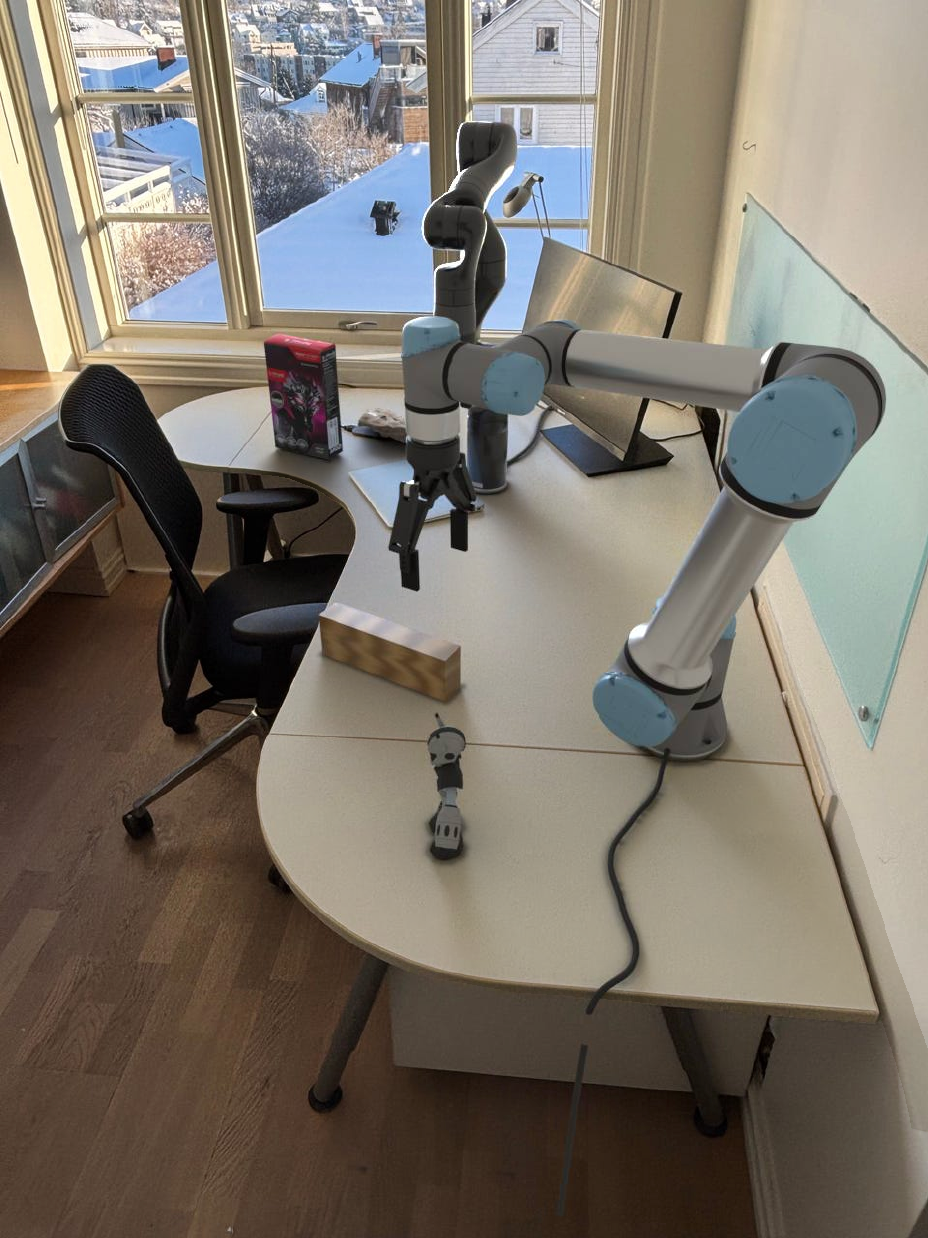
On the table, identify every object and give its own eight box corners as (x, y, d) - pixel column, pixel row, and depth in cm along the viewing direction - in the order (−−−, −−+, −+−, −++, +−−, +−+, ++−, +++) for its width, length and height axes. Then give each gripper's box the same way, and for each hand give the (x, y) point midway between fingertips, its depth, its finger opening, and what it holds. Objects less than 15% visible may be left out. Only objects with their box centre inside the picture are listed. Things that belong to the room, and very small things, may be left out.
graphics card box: (273, 448, 231) (260, 339, 216) (289, 438, 236) (278, 332, 221) (329, 461, 225) (320, 351, 210) (345, 451, 230) (337, 342, 215)
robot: (468, 894, 116) (470, 778, 105) (429, 895, 116) (427, 779, 105) (461, 784, 133) (462, 674, 121) (427, 785, 132) (425, 675, 121)
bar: (460, 686, 152) (460, 646, 147) (445, 702, 149) (445, 661, 144) (339, 640, 162) (335, 601, 158) (322, 654, 159) (318, 614, 155)
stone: (342, 431, 232) (346, 408, 230) (364, 423, 246) (368, 401, 243) (419, 455, 229) (424, 432, 226) (437, 445, 242) (442, 423, 240)
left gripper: (456, 314, 169) (456, 399, 178) (414, 334, 159) (416, 423, 168) (492, 320, 166) (490, 406, 175) (452, 341, 156) (452, 431, 165)
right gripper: (456, 402, 138) (457, 528, 149) (356, 460, 120) (366, 599, 131) (500, 411, 134) (498, 539, 146) (404, 472, 117) (410, 613, 128)
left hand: (454, 414), depth 172 cm, fingers open, 8 cm apart
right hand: (435, 568), depth 139 cm, fingers open, 13 cm apart
